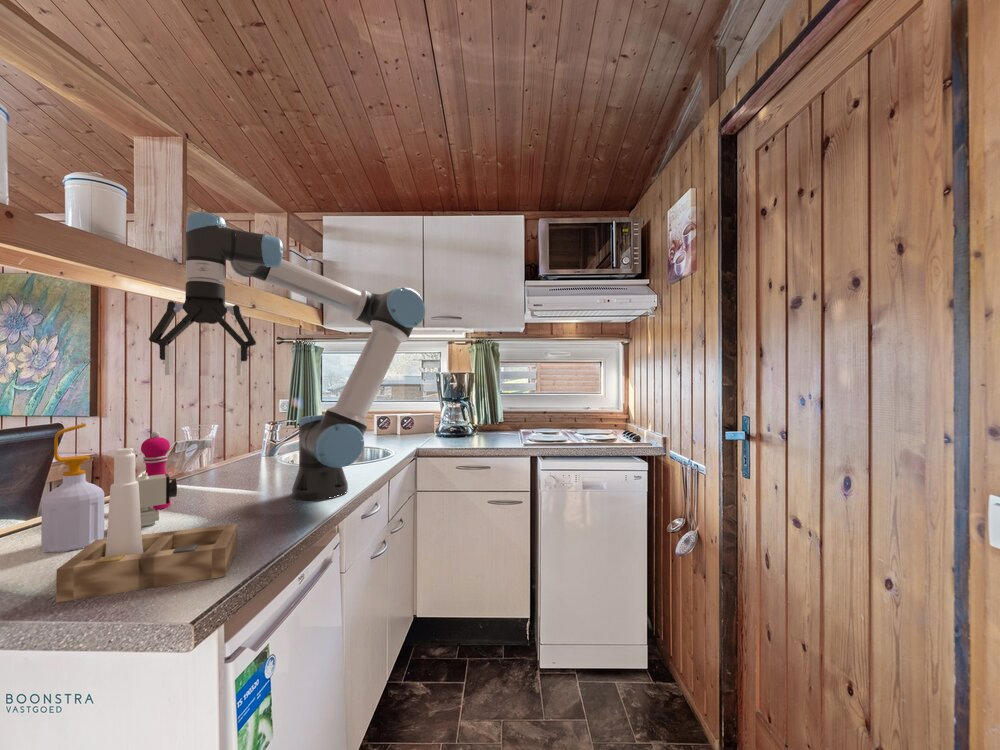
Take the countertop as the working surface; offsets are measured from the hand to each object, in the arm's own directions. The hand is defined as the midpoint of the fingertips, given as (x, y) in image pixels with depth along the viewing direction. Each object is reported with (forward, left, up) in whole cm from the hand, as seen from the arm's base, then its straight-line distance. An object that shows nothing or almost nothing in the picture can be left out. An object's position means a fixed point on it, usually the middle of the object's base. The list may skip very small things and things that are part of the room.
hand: (205, 375), depth 99 cm
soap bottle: (+22, +2, -35) cm, 41 cm away
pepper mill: (+15, -22, -35) cm, 44 cm away
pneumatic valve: (+13, -7, -35) cm, 38 cm away
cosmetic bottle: (+7, +24, -35) cm, 43 cm away
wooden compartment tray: (+2, +24, -35) cm, 42 cm away
